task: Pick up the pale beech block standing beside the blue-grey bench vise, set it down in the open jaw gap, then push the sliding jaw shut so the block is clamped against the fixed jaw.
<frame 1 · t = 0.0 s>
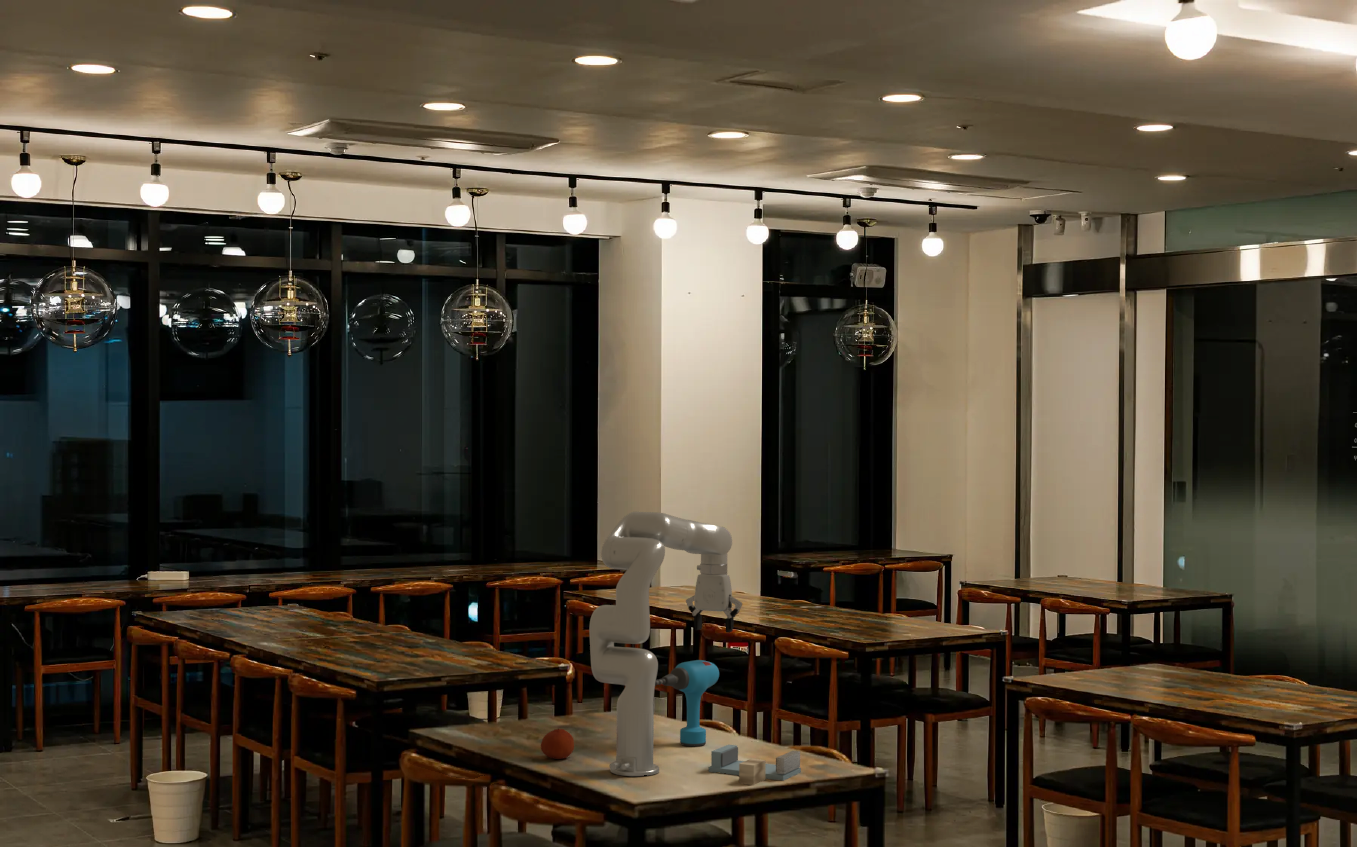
hand: (713, 630, 448), 31 cm above the table, fingers open, 9 cm apart
fruit: (557, 759, 424), on the table
sliding jaw: (787, 762, 405), point 3 cm above the table, slide at 0.0 cm
block: (752, 781, 398), on the table
power drill: (682, 747, 440), on the table
vise: (754, 771, 409), on the table
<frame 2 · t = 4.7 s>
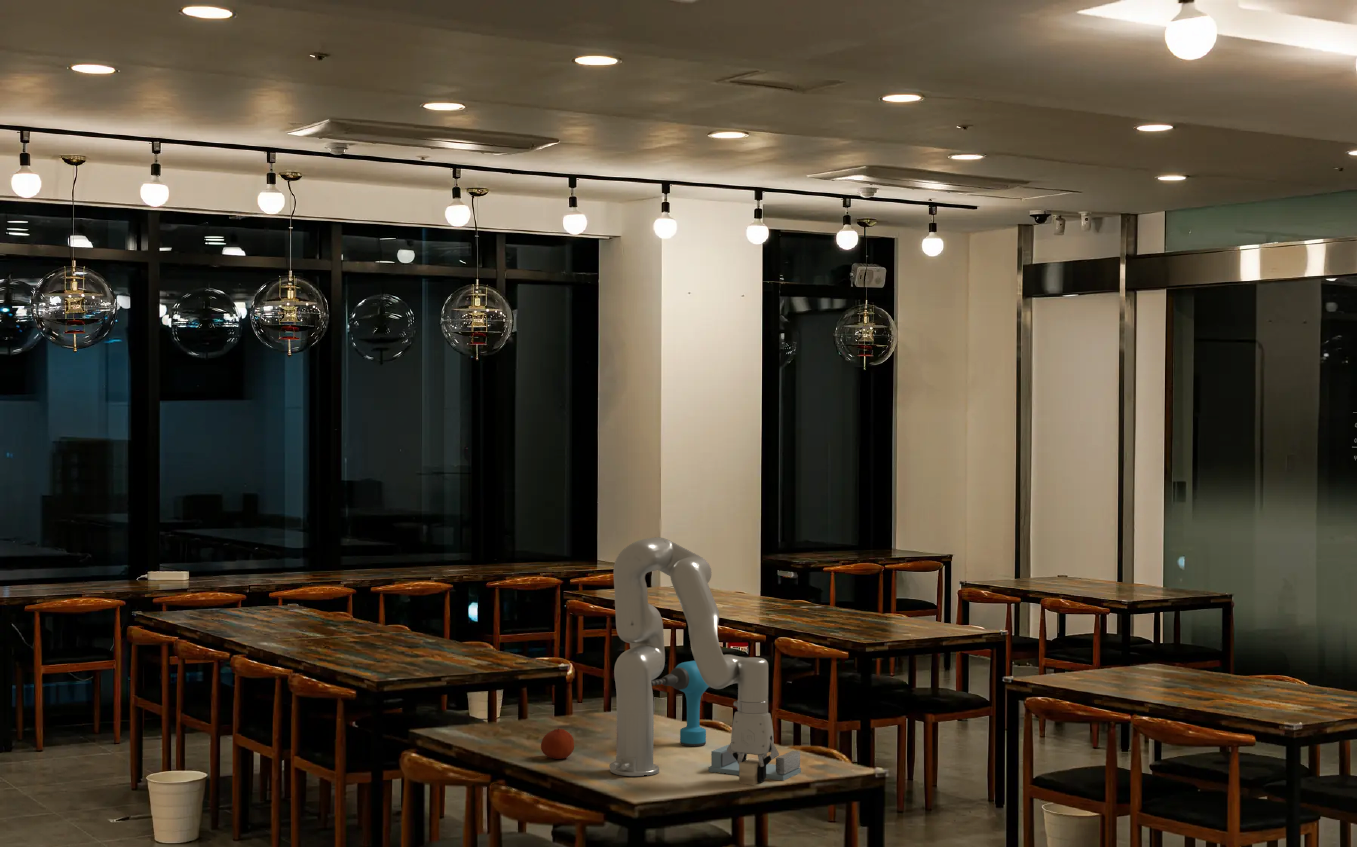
hand: (752, 779, 398), 0 cm above the table, fingers closed on block, 4 cm apart
block: (752, 781, 398), on the table, touching gripper
everything else where it was.
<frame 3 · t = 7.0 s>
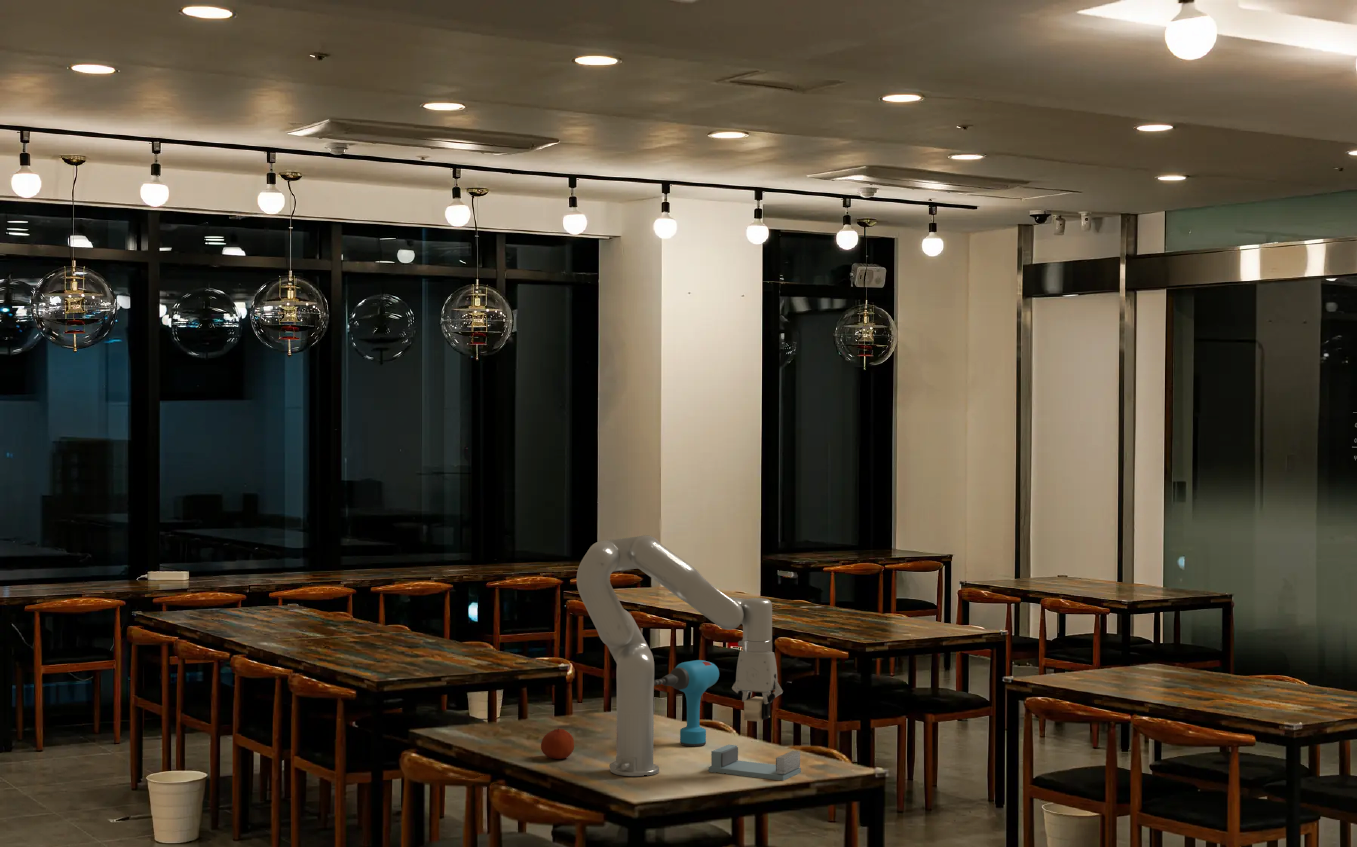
hand: (757, 716, 409), 14 cm above the table, fingers closed on block, 4 cm apart
block: (757, 718, 409), point 14 cm above the table, touching gripper
everything else where it was.
when the fingers open (2 cm above the table, at t = 9.3 s): block stays where it is, resting on vise.
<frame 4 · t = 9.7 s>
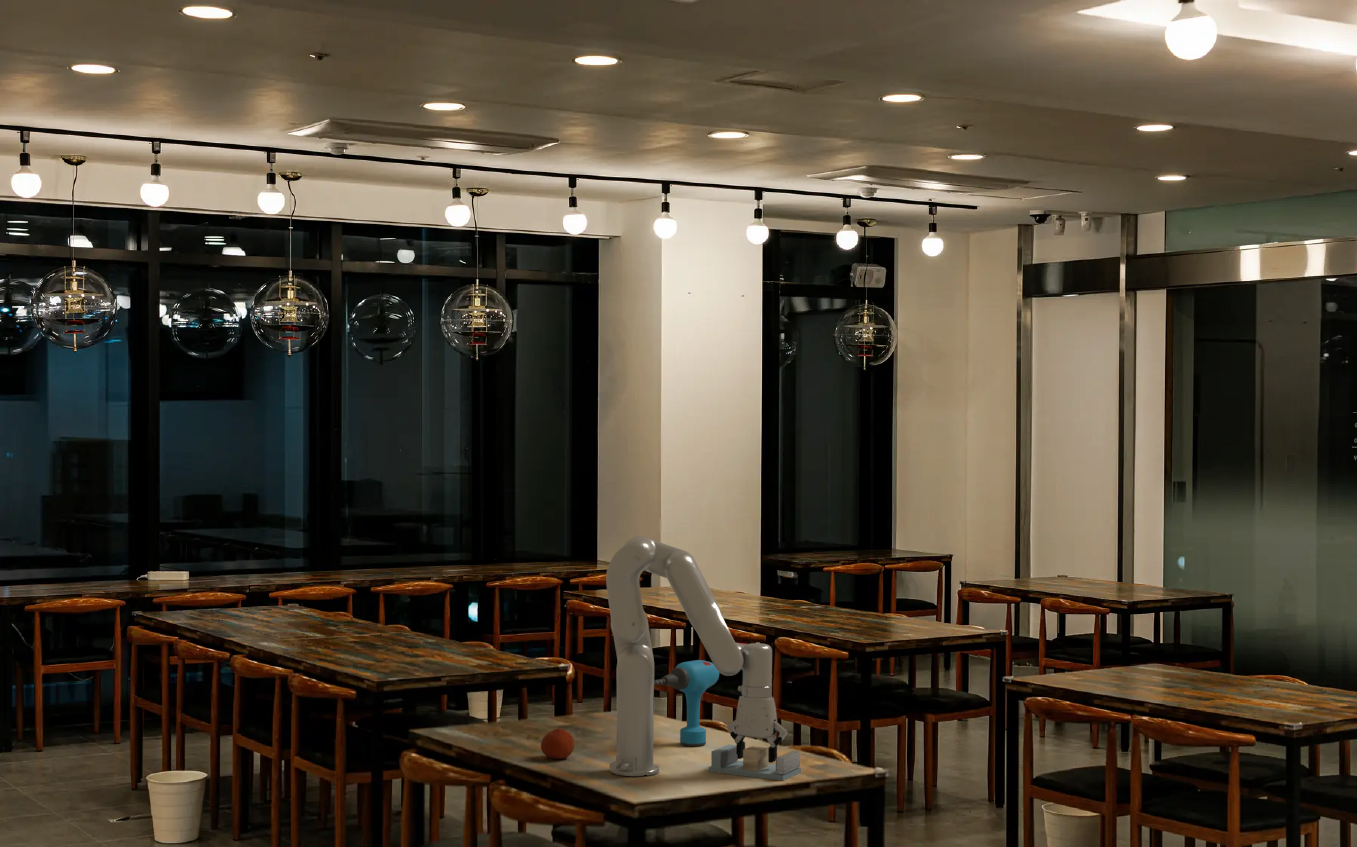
hand: (756, 759, 409), 3 cm above the table, fingers open, 8 cm apart
block: (756, 767, 409), point 1 cm above the table, touching vise
everything else where it was.
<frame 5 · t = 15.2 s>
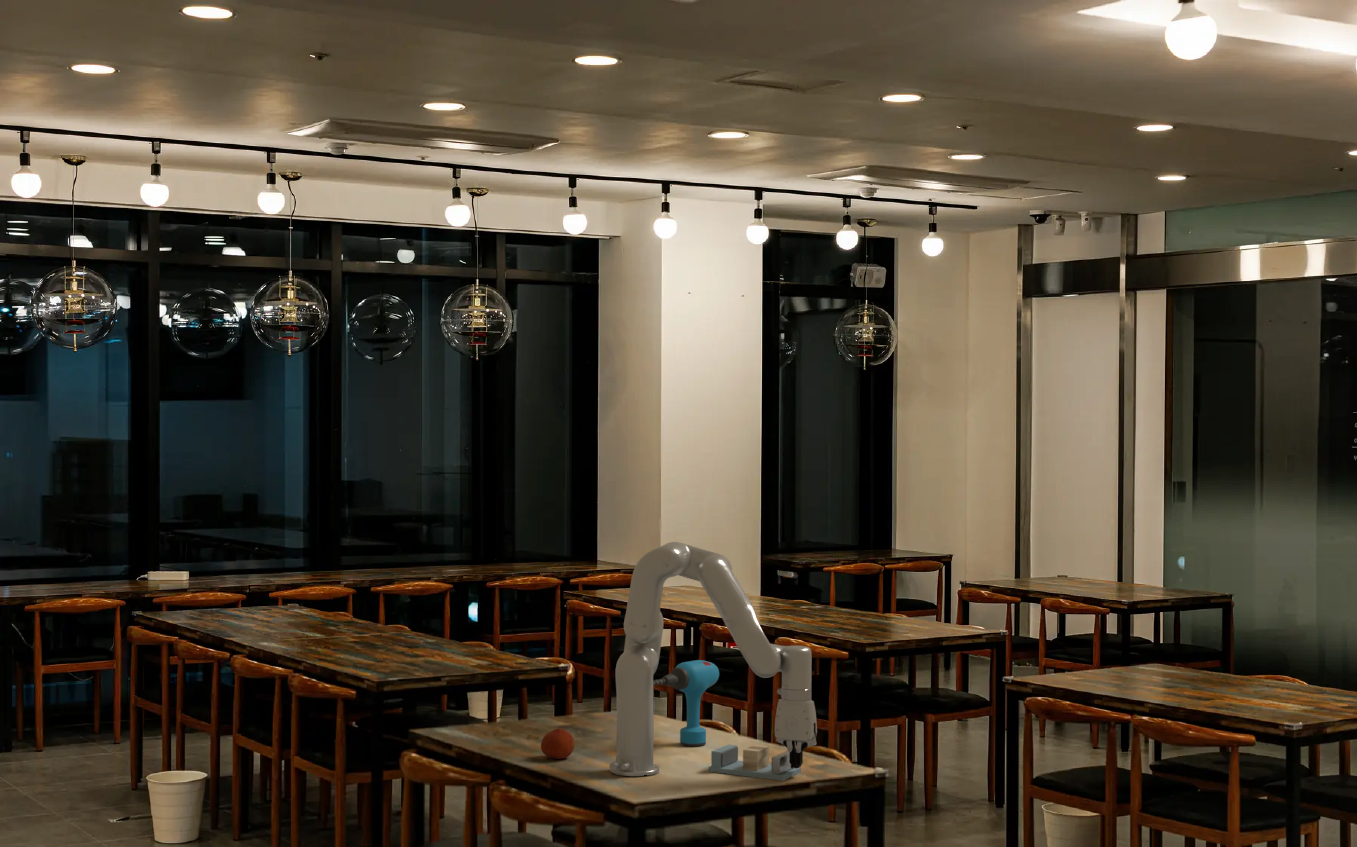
hand: (796, 766, 404), 3 cm above the table, fingers closed
sliding jaw: (783, 761, 405), point 3 cm above the table, slide at 1.2 cm, touching gripper
everything else where it was.
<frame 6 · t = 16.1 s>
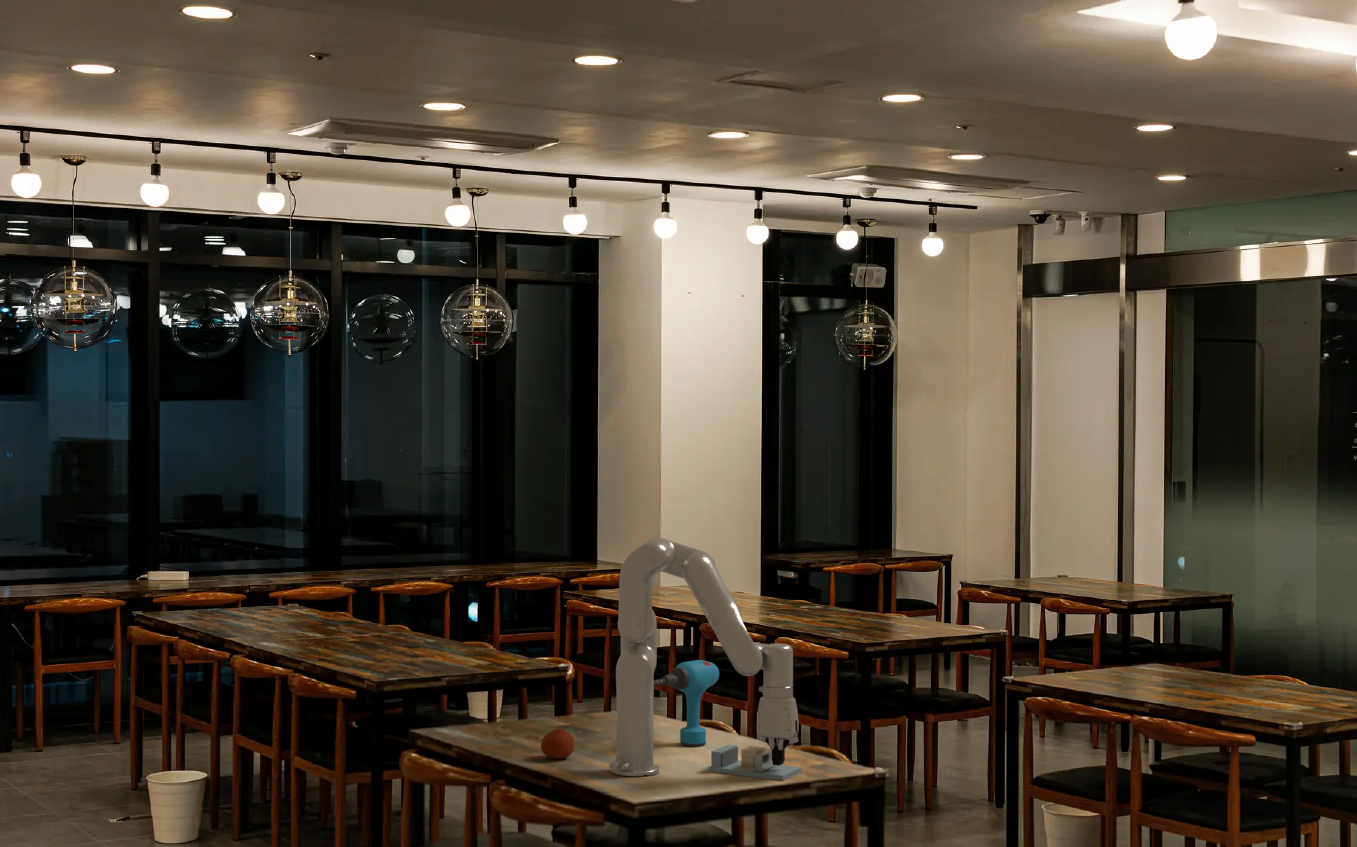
hand: (778, 764, 406), 3 cm above the table, fingers closed
sliding jaw: (765, 759, 407), point 3 cm above the table, slide at 6.2 cm, touching block, gripper
block: (754, 767, 409), point 1 cm above the table, touching sliding jaw
everything else where it was.
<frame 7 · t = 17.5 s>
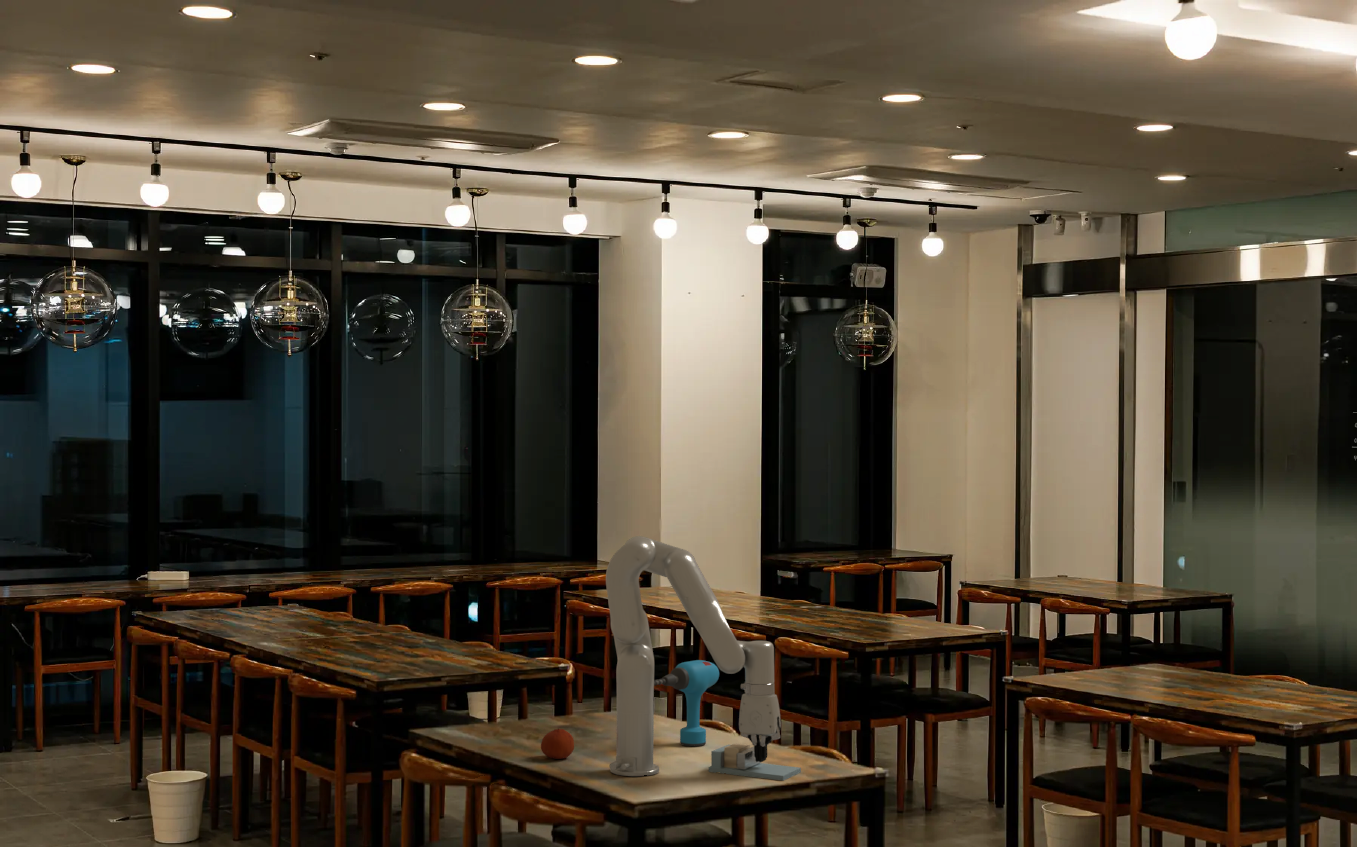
hand: (760, 760, 408), 3 cm above the table, fingers closed
sliding jaw: (748, 757, 410), point 4 cm above the table, slide at 11.0 cm, touching block, gripper
block: (737, 765, 411), point 1 cm above the table, touching sliding jaw, vise
everything else where it was.
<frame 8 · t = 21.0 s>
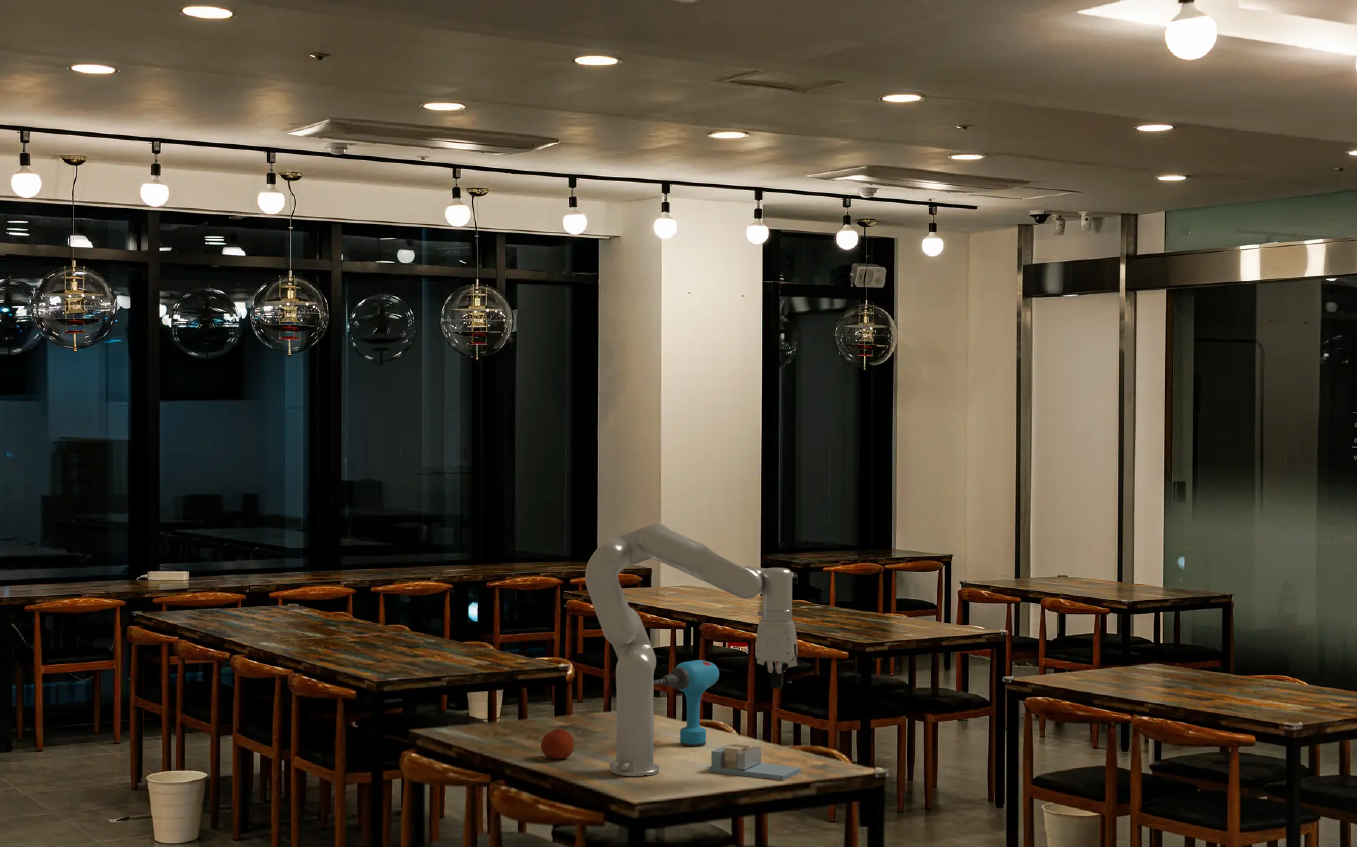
hand: (776, 687, 406), 22 cm above the table, fingers closed
sliding jaw: (748, 757, 410), point 3 cm above the table, slide at 11.0 cm, touching block
everything else where it was.
at the end: sliding jaw slide at 11.0 cm; block inside the target area on the vise (0.8 cm from its centre), point 1.2 cm above the vise's base; block tilted 0° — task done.
